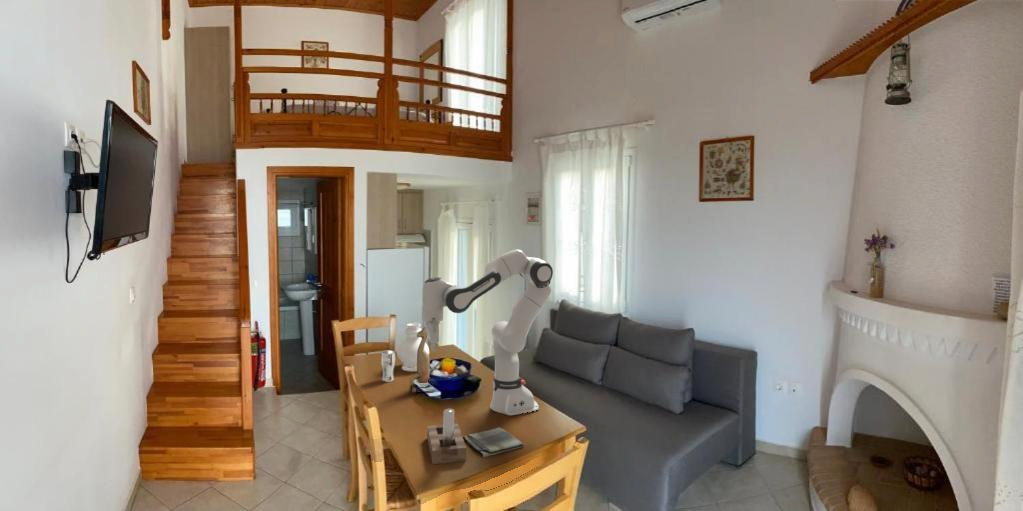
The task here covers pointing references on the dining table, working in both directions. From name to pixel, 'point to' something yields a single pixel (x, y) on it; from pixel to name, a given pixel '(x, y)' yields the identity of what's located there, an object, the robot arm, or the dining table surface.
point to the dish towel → (493, 441)
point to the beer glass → (388, 365)
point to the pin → (448, 427)
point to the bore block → (445, 453)
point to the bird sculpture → (422, 360)
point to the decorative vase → (411, 347)
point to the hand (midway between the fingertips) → (431, 347)
